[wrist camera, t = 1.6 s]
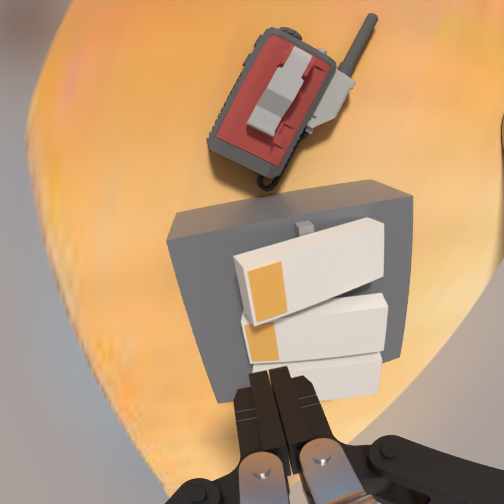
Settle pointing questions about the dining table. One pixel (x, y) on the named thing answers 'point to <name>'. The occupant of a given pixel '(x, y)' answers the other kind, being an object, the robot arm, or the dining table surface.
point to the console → (268, 233)
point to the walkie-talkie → (282, 100)
